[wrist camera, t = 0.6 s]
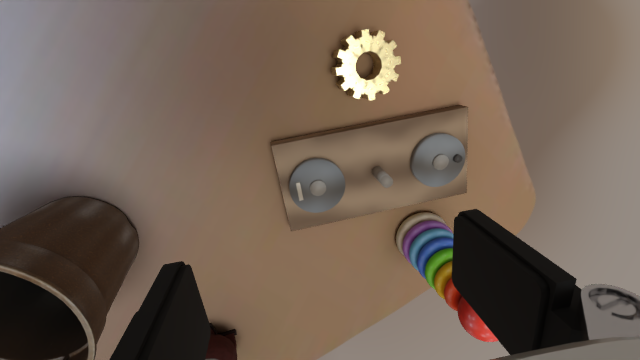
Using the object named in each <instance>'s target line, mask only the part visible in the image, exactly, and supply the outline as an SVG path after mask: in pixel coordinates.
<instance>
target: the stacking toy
mask: <svg viewBox="0 0 640 360" xmlns="http://www.w3.org/2000/svg"><path fill="white" fill-rule="evenodd" d="M453 235H454V234H453V233H452V231H451V230H450V228H449V227H448V226H447V225H446V223H445V221H444V220H443V219H442V218H441V217H440V216H438V215H436V214H433V213H429V212H422V213H417V214H414V215H412V216H410V217H409V218H407V219H406V220H405V221H404V222H403V223H402V224H401V225H400V227H399V229H398V231H397V235H396V244H397V247H398V249H399V251H400V252H401V254H402V255H404V256H405V258H406V259H407V260H408V261H409V262H410V263H411V264H412V265H413V267H414V268H415V269H416V270H418V271H419V272H420V274H421V275H422V276H423V277H424V278H425V279H426V280H427V282H428V284H429V285H430V286H431V287H432V288H434V289H435V290H436V292H437V293H438V295H439V296H440V297H442V298H443V299H445V300H446V303H447V304H448V305H449V306H450V307H451V308H452V309H454V310H456V311H458V316H459V320H460V322H461V324H462V326H463V327H464V329H465V330H466V331H467V332H468V333H469V334H470V335H472V336H473V337H475V338H477V339H479V340H482V341H486V342H494V341H499V340H498V339H497V338H496V337H495V335H494V334H493V333H492V332H491V331H490V329H489V328H488V327H487V326H486V325H485V323H484V322H483V321H482V320H481V318H480V317H479V316H478V315H477V314H476V312H475V311H474V310H473V309H472V307H471V306H470V305H469V304H468V303H467V301H466V300H465V299H464V298H463V297H462V295H461V294H460V293H459V292H458V290H457V289H456V288H455V287H454V285H453V282H452V256H453Z"/></svg>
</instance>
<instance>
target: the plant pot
mask: <svg viewBox="0 0 640 360" xmlns="http://www.w3.org/2000/svg"><path fill="white" fill-rule="evenodd" d="M138 246H139V240H138V235H137V232H136V230H135V229H134V228H133V227H132V226H131V225H130V223H129V221H128V220H127V217H126V216H125V215H124V214H123V213H122V212H121V211H120V210H118V209H117V208H115V207H113V206H111V205H109V204H107V203H105V202H103V201H100V200H96V199H92V198H87V197H66V198H62V199H59V200H56V201H53V202H50V203H48V204H46V205H45V206H43V207H41V208H39V209H37V210H35V211H33V212H31V213H29V214H27V215H25V216H24V217H22V218H20V219H18V220H16V221H14V222H12V223H10V224H8V225H6V226H4V227H2V228H0V360H94V359H95V355H96V344H97V342H98V340H99V338H100V336H101V334H102V331H103V329H104V326H105V323H106V316H107V313H108V311H109V309H110V307H111V305H112V303H113V301H114V299H115V297H116V295H117V293H118V291H119V289H120V287H121V285H122V283H123V281H124V279H125V277H126V275H127V273H128V271H129V269H130V267H131V265H132V263H133V261H134V259H135V258H136V255H137V252H138Z"/></svg>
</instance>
